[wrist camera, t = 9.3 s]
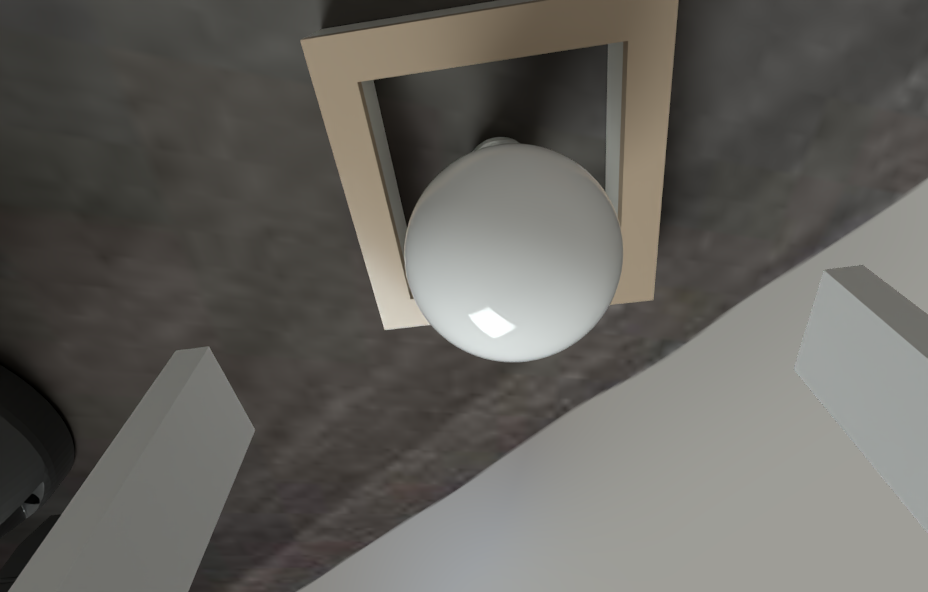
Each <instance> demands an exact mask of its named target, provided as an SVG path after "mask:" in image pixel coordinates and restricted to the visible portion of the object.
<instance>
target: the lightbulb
mask: <svg viewBox="0 0 928 592" xmlns="http://www.w3.org/2000/svg"><path fill="white" fill-rule="evenodd" d="M404 262H405V271H406V276H407V280H408V284H409V287H410V290H411V293H412V295H413V298H414V300H415V302H416V304H417V306H418V308H419V309H420V311H421V312H422V314H423V315H424V317H425V318H426V320H427V321H428V322H429V323H430V325H431V326H432V327H433V328H434V329H435V330H436V331H437V332H438V333H439V334H440V335H441V336H443V337H444V338H445V339H446V340H448V341H449V342H450V343H452V344H453V345H455V346H456V347H458V348H460V349H462V350H464V351H466V352H468V353H470V354H472V355H475V356H478V357H481V358H484V359H488V360H493V361H500V362H526V361H533V360H537V359H541V358H545V357H548V356H551V355H554V354H556V353H558V352H560V351H562V350H564V349H566V348H568V347H570V346H571V345H573V344H574V343H576V342H577V341H579V340H580V339H581V338H583V337H584V336H585V335H586V334H587V333H588V332H589V331H590V330H591V329H592V328H593V327H594V326H595V325H596V324H597V323H598V322H599V320H600V319H601V318H602V316H603V315H604V314H605V312H606V311H607V309H608V307H609V305H610V304H611V302H612V300H613V297H614V295H615V293H616V290H617V287H618V284H619V281H620V277H621V272H622V266H623V238H622V232H621V227H620V223H619V220H618V217H617V214H616V211H615V209H614V207H613V205H612V203H611V201H610V199H609V197H608V195H607V194H606V192H605V191H604V189H603V188H602V187H601V185H600V184H599V183H598V182H597V180H596V179H595V178H594V177H593V176H592V175H591V174H590V173H589V172H588V171H587V170H586V169H584V168H583V167H582V166H581V165H579V164H578V163H576V162H575V161H574V160H572V159H570V158H569V157H567V156H565V155H563V154H561V153H559V152H556V151H554V150H551V149H548V148H545V147H541V146H537V145H531V144H522V143H519V142H517V141H516V140H514V139H511V138H508V137H493V138H490V139H487V140H485V141H483V142H482V143H480V144H479V145H478V146H477V147H476V148H475V149H474V150H473V152H471V153H468V154H466V155H464V156H462V157H461V158H459V159H457V160H456V161H454V162H453V163H451V164H450V165H448V166H447V167H446V168H445V169H443V170H442V171H441V172H440V173H439V174H438V175H437V176H436V177H435V178H434V179H433V180H432V181H431V182H430V184H429V185H428V186H427V187H426V189H425V190H424V192H423V193H422V195H421V196H420V198H419V200H418V201H417V203H416V205H415V207H414V210H413V212H412V215H411V217H410V220H409V223H408V227H407V231H406V237H405V246H404Z"/></svg>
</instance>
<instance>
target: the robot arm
mask: <svg viewBox="0 0 928 592" xmlns="http://www.w3.org/2000/svg"><path fill="white" fill-rule="evenodd" d="M794 370H795V372H796V373H797V374H798V375H799V377H800V378H801V379H802V380H803V381H804V383H805V384H806V385H807V386H808V387H809V389H810V390H811V391H812V392H813V394H814V395H815V396H816V397H817V398H818V400H819V401H820V402H821V403H822V405H823V406H824V407H825V408H826V410H827V411H828V412H829V413H830V414H831V416H832V417H833V418H834V419H835V421H836V422H837V423H838V424H839V425H840V427H841V428H842V429H843V430H844V432H845V433H846V434H847V435H848V437H849V438H850V439H851V440H852V441H853V443H854V444H855V445H856V446H857V447H858V449H859V450H860V451H861V452H862V454H863V455H864V456H865V457H866V459H867V460H868V461H869V462H870V463H871V465H872V466H873V467H874V468H875V470H876V471H877V472H878V473H879V475H880V476H881V477H882V478H883V479H884V481H885V482H886V483H887V484H888V485H889V487H890V488H891V489H892V490H893V492H894V493H895V494H896V495H897V496H898V498H899V499H900V500H901V501H902V503H903V504H904V505H905V506H906V507H907V509H908V510H909V511H910V512H911V514H912V515H913V516H914V517H915V519H916V520H917V521H918V522H919V523H920V525H921V526H922V527H923V528H924V529H925V531H926V532H927V533H928V314H926V313H925V312H924V311H922V310H921V309H920V308H918V307H917V306H916V305H915V304H913V303H912V302H911V301H909V300H908V299H907V298H905V297H904V296H903V295H901V294H900V293H899V292H897V291H896V290H895V289H893V288H892V287H891V286H890V285H888V284H887V283H886V282H884V281H883V280H882V279H880V278H879V277H878V276H877V275H875V274H874V273H873V272H871V271H870V270H869V269H867V268H866V267H865V266H863V265H859V266H851V267H843V268H836V269H827V270H824V271H823V274H822V278H821V281H820V284H819V287H818V291H817V294H816V297H815V301H814V304H813V307H812V311H811V314H810V317H809V320H808V323H807V327H806V330H805V334H804V337H803V340H802V343H801V346H800V350H799V353H798V356H797V360H796V363H795V366H794ZM254 432H255V429H254V427H253V425H252V423H251V422H250V420H249V418H248V416H247V414H246V412H245V411H244V409H243V407H242V405H241V403H240V402H239V400H238V398H237V396H236V394H235V393H234V391H233V389H232V387H231V385H230V384H229V382H228V380H227V378H226V376H225V375H224V373H223V371H222V369H221V367H220V366H219V364H218V362H217V360H216V358H215V357H214V355H213V353H212V351H211V349H210V348H209V347H201V348H193V349H185V350H177V351H175V353H174V354H173V356H172V357H171V358H170V360H169V361H168V363H167V364H166V366H165V367H164V368H163V370H162V371H161V373H160V374H159V376H158V377H157V378H156V380H155V381H154V383H153V384H152V386H151V387H150V389H149V390H148V391H147V393H146V394H145V396H144V397H143V399H142V400H141V401H140V403H139V404H138V406H137V407H136V409H135V410H134V411H133V413H132V414H131V416H130V417H129V419H128V420H127V421H126V423H125V424H124V426H123V427H122V429H121V430H120V432H119V433H118V434H117V436H116V437H115V439H114V440H113V442H112V443H111V444H110V446H109V447H108V449H107V450H106V452H105V453H104V454H103V456H102V457H101V459H100V460H99V462H98V463H97V465H96V466H95V467H94V469H93V470H92V472H91V473H90V475H89V476H88V477H87V479H86V480H85V482H84V483H83V485H82V486H81V487H80V489H79V490H78V492H77V493H76V495H75V496H74V497H73V499H72V500H71V502H70V503H69V505H68V506H67V508H66V509H65V510H64V512H63V513H62V514H61V515H51V516H50V517H49V518H48V519H47V520H46V521H44V522H43V523H42V524H41V525H40V526H39V527H38V528H37V529H36V530H35V531H34V532H33V533H32V534H30V535H29V536H28V537H27V538H26V539H25V540H24V541H23V542H22V543H21V544H20V545H19V546H18V547H17V549H16V550H15V551H14V553H13V554H12V555H11V557H10V558H9V560H8V561H7V562H6V564H5V565H4V566H3V568H2V569H1V570H0V592H188V591H189V588H190V586H191V583H192V581H193V579H194V576H195V574H196V571H197V569H198V566H199V564H200V562H201V559H202V557H203V554H204V552H205V550H206V547H207V545H208V542H209V540H210V538H211V535H212V533H213V530H214V528H215V526H216V523H217V521H218V518H219V516H220V514H221V511H222V509H223V506H224V504H225V501H226V499H227V497H228V494H229V492H230V489H231V487H232V485H233V482H234V480H235V477H236V475H237V473H238V470H239V468H240V465H241V463H242V461H243V458H244V456H245V453H246V451H247V448H248V446H249V444H250V441H251V439H252V436H253V434H254ZM74 453H75V451H74V444H73V440H72V437H71V434H70V432H69V430H68V428H67V426H66V425H65V423H64V421H63V420H62V418H61V417H60V415H59V414H58V413H57V412H56V410H55V409H54V408H53V407H52V406H51V405H50V404H49V402H48V401H47V400H46V399H45V398H44V397H43V396H42V395H40V394H39V393H38V392H37V391H36V390H35V389H34V388H32V387H31V386H30V385H29V384H27V383H26V382H25V381H24V380H22V379H21V378H19V377H18V376H17V375H15V374H14V373H12V372H11V371H9V370H8V369H6V368H5V367H3V366H1V365H0V538H1V537H3V536H4V535H5V534H7V533H8V532H9V531H10V530H12V529H13V528H14V527H16V526H17V525H18V524H20V523H21V522H22V521H23V520H25V519H26V518H27V517H29V516H30V515H32V514H33V513H34V512H35V511H37V510H38V509H39V508H40V507H41V506H42V505H43V504H44V503H45V502H46V501H47V500H48V499H49V498H50V497H51V495H52V494H53V493H54V491H55V490H56V489H57V487H58V486H59V485H60V483H61V482H62V481H63V480H64V478H65V477H66V476H67V474H68V473H69V471H70V470H71V468H72V465H73V462H74Z"/></svg>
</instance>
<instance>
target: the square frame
mask: <svg viewBox="0 0 928 592" xmlns="http://www.w3.org/2000/svg"><path fill="white" fill-rule="evenodd" d="M678 1H679V0H497V1H491V2H485V3H479V4H473V5H467V6H461V7H454V8H448V9H442V10H436V11H430V12H424V13H418V14H411V15H405V16H399V17H393V18H387V19H381V20H375V21H368V22H362V23H356V24H350V25H344V26H338V27H332V28H325V29H320V30H318V31H317V32H315V33H313V34H311V35H309V36H307V37H305V38H304V39H302V40H300V41H301V45H302V48H303V52H304V55H305V58H306V62H307V65H308V69H309V72H310V76H311V79H312V82H313V86H314V89H315V93H316V96H317V99H318V103H319V106H320V110H321V113H322V117H323V120H324V123H325V127H326V130H327V134H328V137H329V141H330V144H331V147H332V151H333V154H334V158H335V161H336V165H337V168H338V171H339V175H340V178H341V182H342V185H343V189H344V192H345V195H346V199H347V202H348V206H349V209H350V213H351V216H352V219H353V223H354V226H355V230H356V233H357V237H358V240H359V243H360V247H361V250H362V254H363V257H364V261H365V264H366V267H367V271H368V274H369V278H370V281H371V284H372V288H373V291H374V295H375V298H376V302H377V305H378V308H379V312H380V315H381V319H382V322H383V326H384V329H385V330H388V329H397V328H406V327H415V326H424V325H430V323H429V322H428V321H427V320H426V318H425V317H424V315H423V314H422V312H421V311H420V309H419V308H418V306H417V304H416V302H415V300H414V298H413V295H412V293H411V290H410V287H409V284H408V280H407V276H406V271H405V262H404V246H405V237H406V231H407V226H406V221H405V217H404V213H403V208H402V204H401V199H400V195H399V191H398V186H397V182H396V177H395V173H394V169H393V164H392V160H391V155H390V151H389V147H388V142H387V138H386V134H385V129H384V125H383V120H382V116H381V112H380V107H379V103H378V98H377V94H376V90H375V85H374V81H373V80H375V79H382V78H388V77H395V76H401V75H408V74H414V73H421V72H427V71H434V70H441V69H447V68H454V67H460V66H467V65H473V64H480V63H486V62H493V61H499V60H506V59H512V58H519V57H526V56H532V55H539V54H545V53H552V52H558V51H565V50H571V49H578V48H584V47H591V46H597V45H604V44H608V65H607V125H606V185H605V192H606V194H607V195H608V197H609V199H610V201H611V203H612V205H613V207H614V209H615V211H616V214H617V217H618V220H619V223H620V227H621V232H622V238H623V266H622V272H621V277H620V281H619V284H618V287H617V290H616V293H615V295H614V297H613V300H612V302H611V304H610V305H613V304H622V303H631V302H640V301H649V300H653V298H654V286H655V274H656V262H657V251H658V239H659V227H660V215H661V203H662V191H663V179H664V167H665V155H666V144H667V132H668V120H669V108H670V96H671V84H672V72H673V60H674V49H675V37H676V25H677V13H678Z"/></svg>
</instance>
